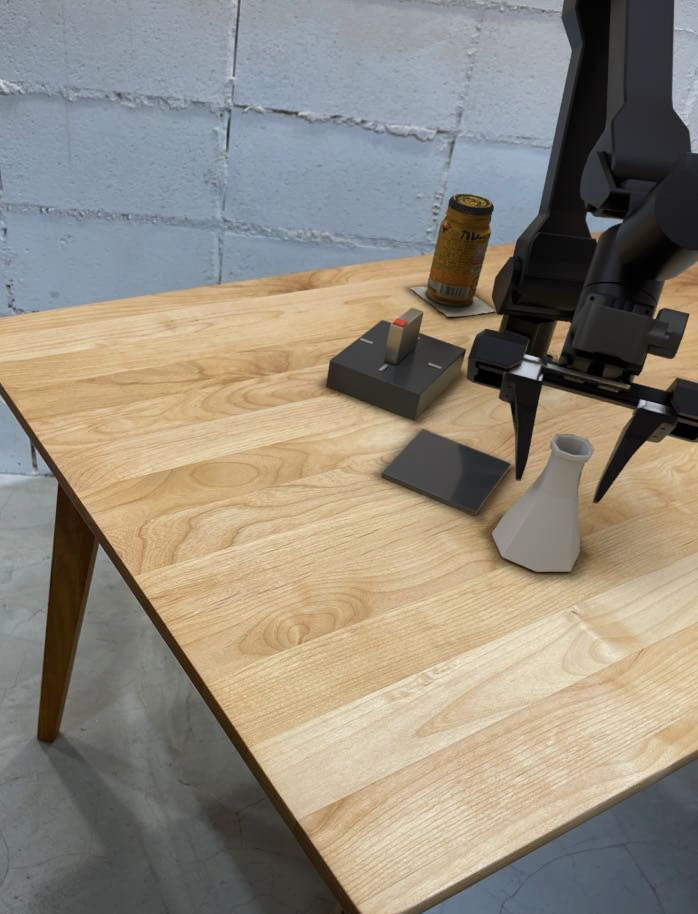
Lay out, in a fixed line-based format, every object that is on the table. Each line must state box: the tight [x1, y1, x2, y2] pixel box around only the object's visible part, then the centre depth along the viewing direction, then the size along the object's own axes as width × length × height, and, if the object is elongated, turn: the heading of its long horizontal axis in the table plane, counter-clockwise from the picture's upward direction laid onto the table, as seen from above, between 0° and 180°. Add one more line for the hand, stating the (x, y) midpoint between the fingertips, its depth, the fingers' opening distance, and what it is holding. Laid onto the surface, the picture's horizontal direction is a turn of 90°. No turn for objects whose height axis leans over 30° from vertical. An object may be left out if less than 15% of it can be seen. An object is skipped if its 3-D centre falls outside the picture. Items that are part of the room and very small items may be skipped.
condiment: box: [410, 193, 496, 318], centre depth 101 cm, size 7×8×12 cm
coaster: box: [380, 428, 512, 517], centre depth 76 cm, size 9×9×1 cm
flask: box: [491, 433, 595, 573], centre depth 66 cm, size 7×7×10 cm
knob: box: [384, 307, 425, 365], centre depth 84 cm, size 5×1×4 cm, turn 149°
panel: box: [325, 319, 467, 421], centre depth 87 cm, size 12×10×3 cm
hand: (556, 491), depth 64 cm, fingers open, 6 cm apart
